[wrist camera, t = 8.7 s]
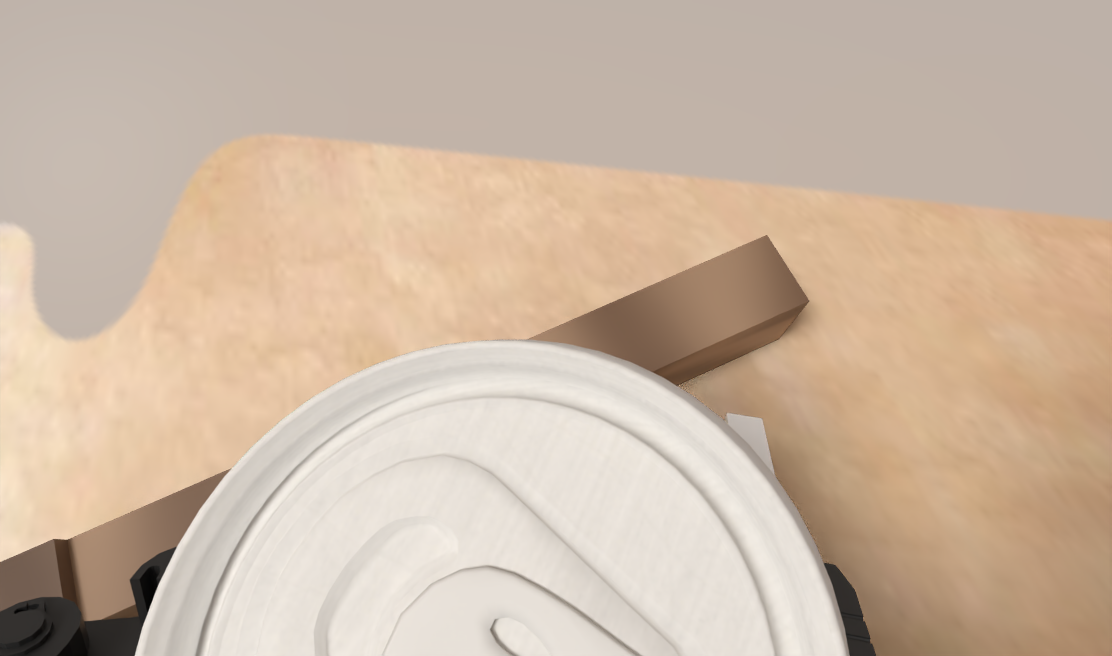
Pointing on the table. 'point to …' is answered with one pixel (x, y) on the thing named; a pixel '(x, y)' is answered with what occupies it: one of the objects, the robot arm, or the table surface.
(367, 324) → the table surface
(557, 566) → the orange soda can
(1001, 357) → the table surface
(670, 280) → the brown l-shaped hook tool
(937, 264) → the table surface
